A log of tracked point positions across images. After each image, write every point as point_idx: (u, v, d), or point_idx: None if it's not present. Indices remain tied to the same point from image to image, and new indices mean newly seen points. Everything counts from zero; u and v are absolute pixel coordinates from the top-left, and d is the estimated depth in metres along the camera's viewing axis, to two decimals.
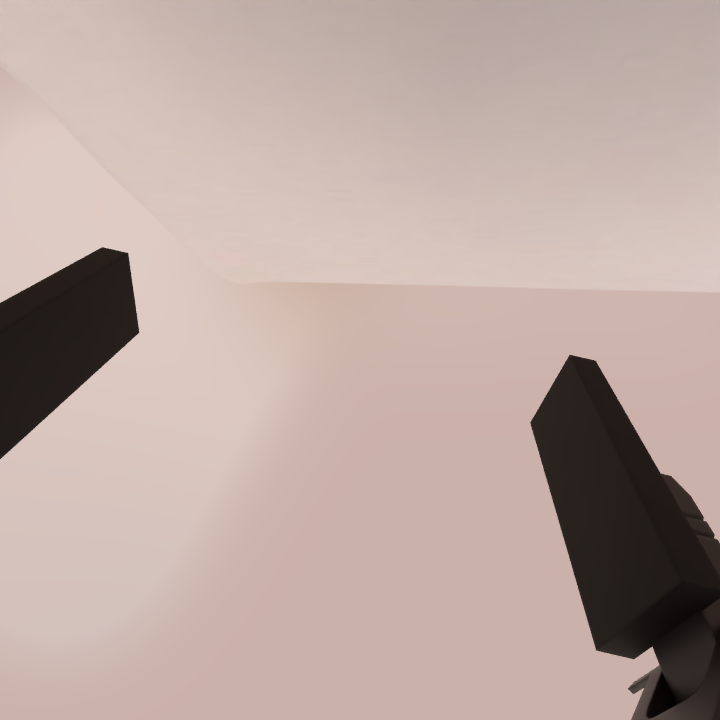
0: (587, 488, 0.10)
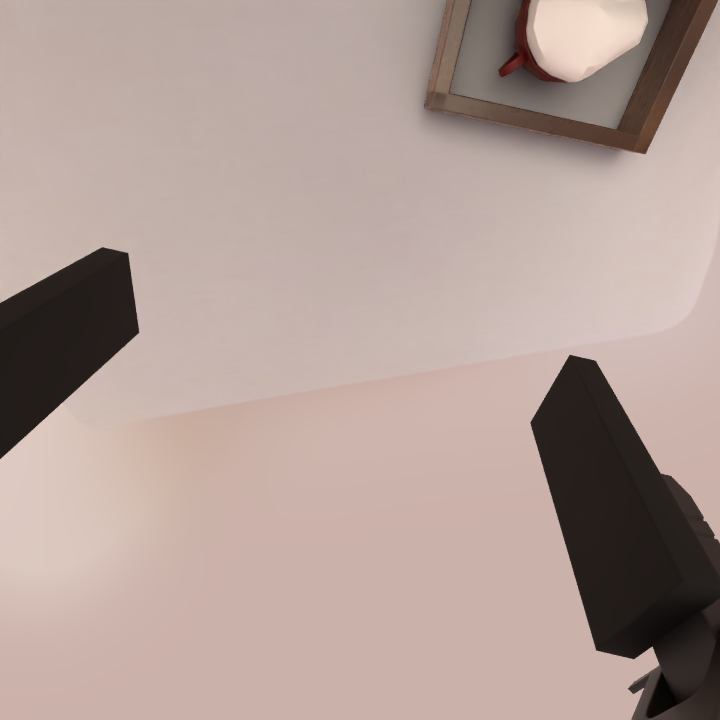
0: (587, 488, 0.10)
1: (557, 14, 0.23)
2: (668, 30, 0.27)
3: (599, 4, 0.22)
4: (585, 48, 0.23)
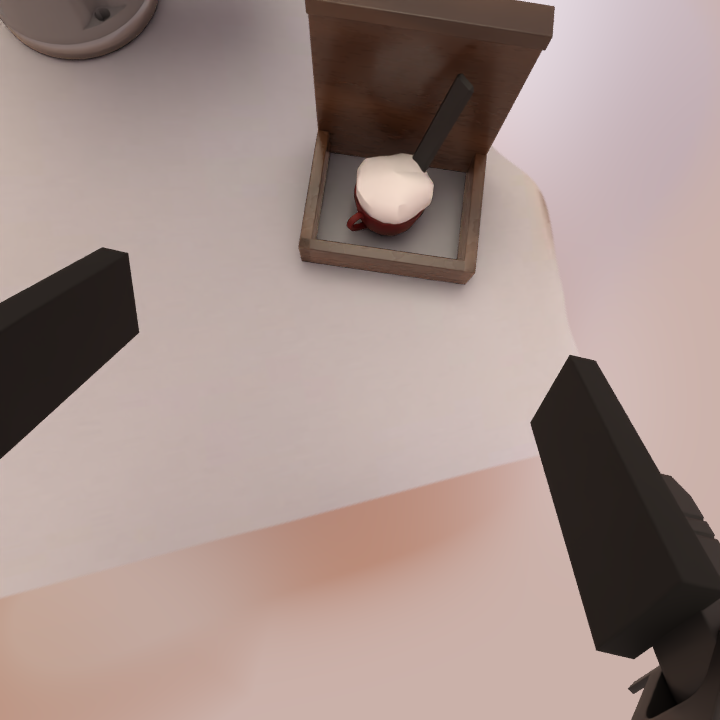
0: (587, 488, 0.10)
1: (370, 180, 0.34)
2: (464, 208, 0.39)
3: (394, 170, 0.33)
4: (393, 194, 0.33)
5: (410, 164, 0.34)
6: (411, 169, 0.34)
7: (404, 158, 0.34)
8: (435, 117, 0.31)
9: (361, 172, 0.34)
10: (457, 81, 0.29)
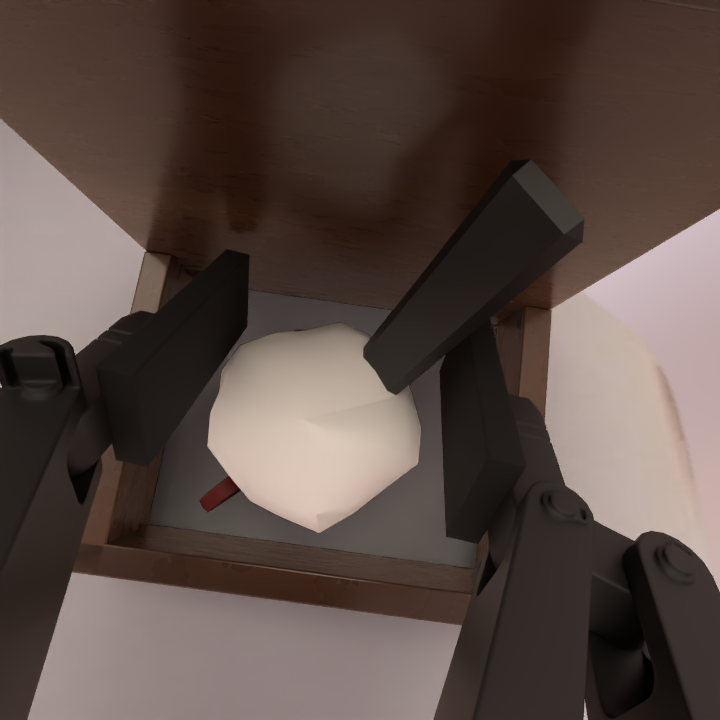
0: (458, 410, 0.11)
1: (238, 428, 0.12)
2: None
3: (302, 413, 0.11)
4: (301, 484, 0.11)
5: (355, 378, 0.12)
6: (358, 396, 0.12)
7: (339, 357, 0.12)
8: (422, 283, 0.09)
9: (222, 393, 0.12)
10: (511, 192, 0.07)
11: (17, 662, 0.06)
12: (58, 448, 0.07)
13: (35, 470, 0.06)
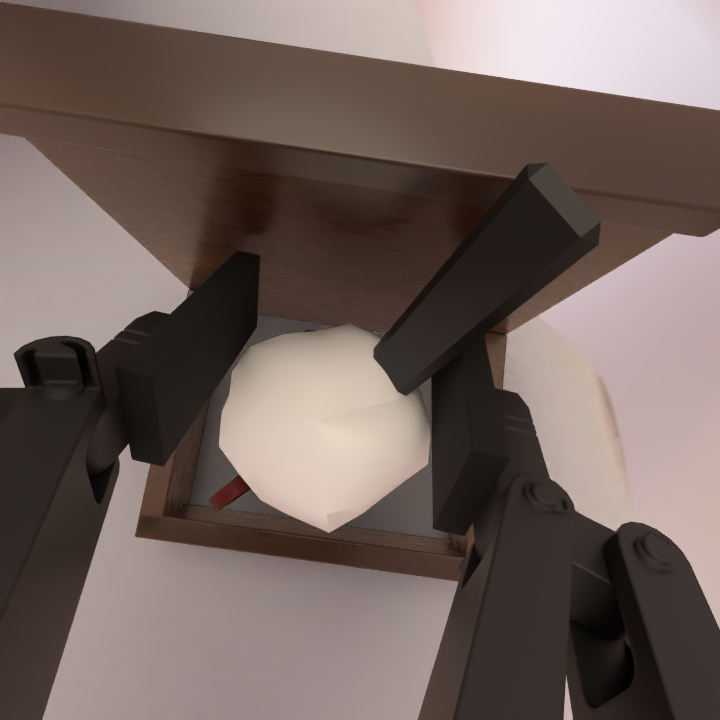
0: (446, 404, 0.11)
1: (249, 427, 0.12)
2: None
3: (313, 414, 0.11)
4: (312, 484, 0.11)
5: (366, 379, 0.12)
6: (368, 397, 0.12)
7: (350, 357, 0.12)
8: (435, 285, 0.09)
9: (233, 393, 0.13)
10: (527, 195, 0.07)
11: (34, 661, 0.06)
12: (78, 448, 0.07)
13: (56, 470, 0.06)
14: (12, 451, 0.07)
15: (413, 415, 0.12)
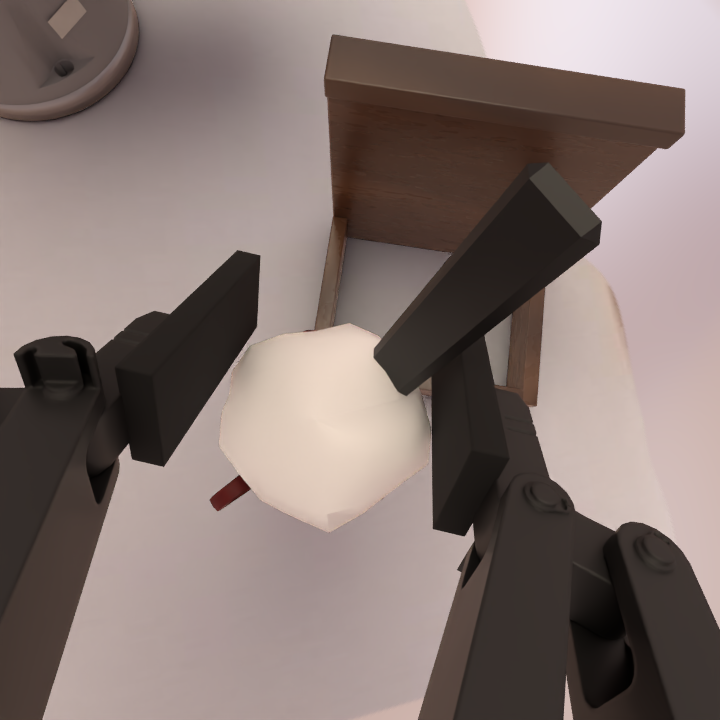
0: (447, 404, 0.11)
1: (249, 427, 0.12)
2: (517, 311, 0.31)
3: (313, 414, 0.11)
4: (312, 484, 0.11)
5: (366, 379, 0.12)
6: (368, 396, 0.12)
7: (350, 357, 0.12)
8: (435, 285, 0.09)
9: (233, 393, 0.13)
10: (528, 195, 0.07)
11: (34, 661, 0.06)
12: (78, 448, 0.07)
13: (56, 470, 0.06)
14: (12, 451, 0.07)
15: (413, 415, 0.12)
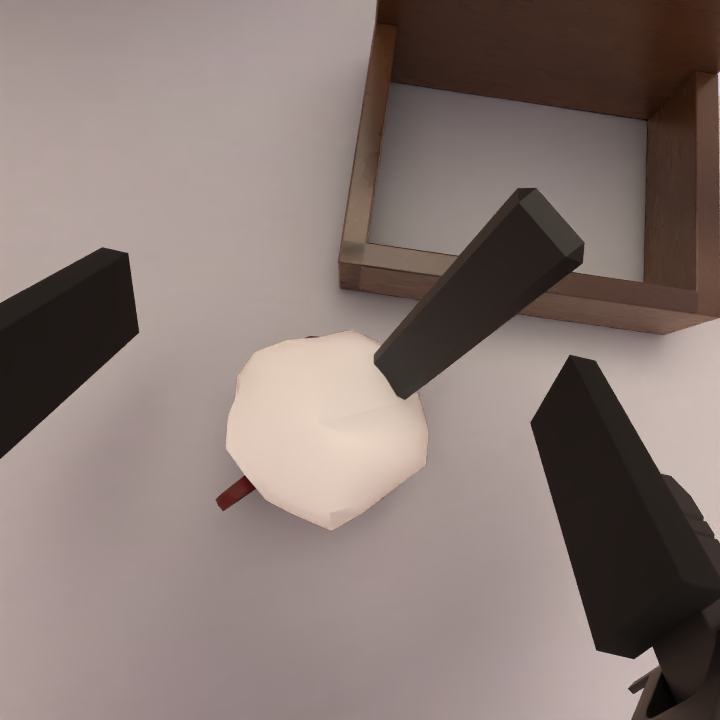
0: (587, 487, 0.10)
1: (255, 430, 0.12)
2: (660, 184, 0.20)
3: (317, 417, 0.12)
4: (315, 484, 0.12)
5: (366, 384, 0.13)
6: (369, 401, 0.12)
7: (351, 363, 0.13)
8: (432, 296, 0.10)
9: (239, 397, 0.13)
10: (517, 217, 0.07)
11: None
12: None
13: None
14: None
15: (412, 418, 0.13)
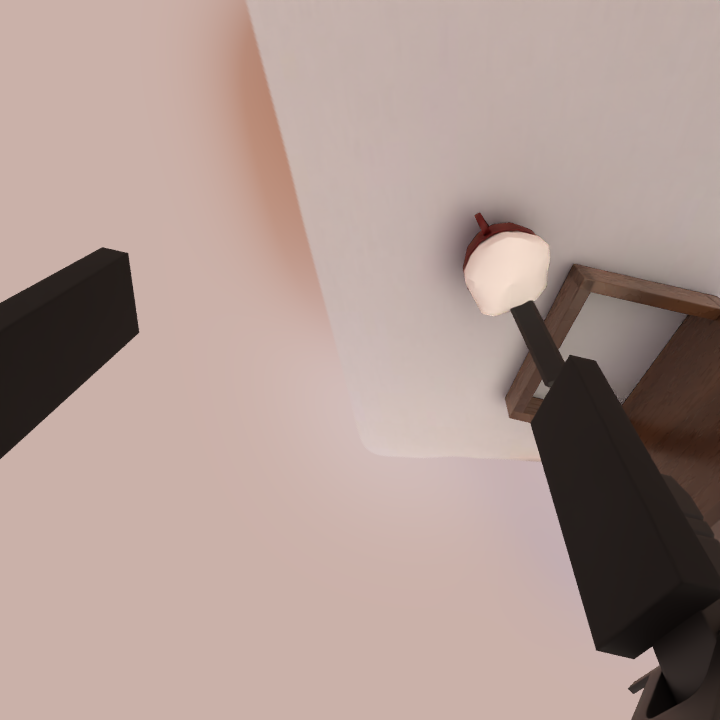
0: (587, 488, 0.10)
1: (513, 254, 0.30)
2: None
3: (513, 282, 0.30)
4: (486, 278, 0.30)
5: (521, 298, 0.31)
6: (513, 299, 0.31)
7: (531, 292, 0.31)
8: (549, 339, 0.29)
9: (528, 243, 0.30)
10: None
11: None
12: None
13: None
14: None
15: (502, 312, 0.32)
